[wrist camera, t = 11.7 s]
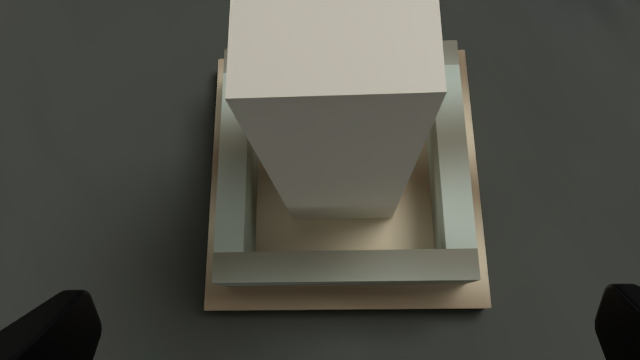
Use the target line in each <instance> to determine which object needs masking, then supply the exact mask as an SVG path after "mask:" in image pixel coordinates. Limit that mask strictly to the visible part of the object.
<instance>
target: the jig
mask: <svg viewBox="0 0 640 360" xmlns="http://www.w3.org/2000/svg"><path fill="white" fill-rule="evenodd" d="M227 53H228V49H225V52H224V59H219V61H218V78H217V95H216V112H215V129H214V146H213V163H212V180H211V197H210V214H209V231H208V248H207V265H206V282H205V299H204V311H245V310H364V309H482V308H491V300H490V290H489V280H488V271H487V261H486V251H485V242H484V232H483V223H482V213H481V203H480V194H479V184H478V175H477V165H476V155H475V146H474V136H473V127H472V117H471V107H470V98H469V88H468V79H467V69H466V59H465V50H458V47H457V40H450V41H443V53H444V65H445V76H446V88H447V93H446V95H445V97H444V100H443V102H442V104H441V107H440V109H439V111H438V114H437V116H436V118H435V121H434V123H433V125H432V127H431V130H430V132H429V134H428V137H427V139H426V141H425V144H424V146H423V148H422V151H421V153H420V155H419V157H418V160H417V162H416V164H415V167H414V169H413V171H412V174H411V176H410V178H409V181H408V183H407V185H406V188H405V190H404V192H403V194H402V197H401V199H400V201H399V204H398V206H397V208H396V211H395V213H394V215H393V218H344V219H293V218H292V216H291V214H290V212H289V211H288V209H287V207H286V205H285V204H284V202H283V200H282V198H281V196H280V195H279V193H278V191H277V189H276V188H275V186H274V184H273V182H272V181H271V179H270V177H269V175H268V174H267V172H266V170H265V168H264V167H263V165H262V163H261V161H260V160H259V158H258V156H257V154H256V152H255V151H254V149H253V147H252V145H251V144H250V142H249V140H248V138H247V137H246V135H245V133H244V131H243V130H242V128H241V126H240V124H239V123H238V121H237V119H236V117H235V116H234V114H233V112H232V110H231V108H230V107H229V105H228V103H227V101H226V100H225V89H226V71H227Z"/></svg>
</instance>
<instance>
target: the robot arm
mask: <svg viewBox="0 0 640 360" xmlns="http://www.w3.org/2000/svg"><path fill="white" fill-rule="evenodd" d="M101 330H102V327H101V321H100V318H99V316H98V313H97V310H96V308H95V305H94V302H93V300H92V297H91V295H90V293H89V292H87V291H85V290H65V291H62V292H60V293H58V294H57V295H55V296H54V297H52V298H50V299H49V300H47V301H46V302H44V303H43V304H41V305H40V306H38V307H36V308H35V309H33V310H32V311H30V312H29V313H27V314H26V315H24V316H23V317H21V318H19V319H18V320H16V321H15V322H13V323H12V324H10V325H9V326H7V327H5V328H4V329H2V330H1V331H0V360H93V358H94V355H95V352H96V349H97V346H98V343H99V340H100V336H101ZM595 330H596V334H597V337H598V340H599V342H600V345H601V348H602V350H603V353H604V356H605V358H606V360H640V287H639V286H637V285H635V284H610V285H608V286H607V287H606V288H605V290H604V292H603V296H602V299H601V302H600V305H599V308H598V311H597V314H596V318H595Z"/></svg>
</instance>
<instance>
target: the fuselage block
mask: <svg viewBox="0 0 640 360" xmlns="http://www.w3.org/2000/svg"><path fill="white" fill-rule="evenodd" d="M446 93H447V88H446V76H445V65H444V53H443V41H442V30H441V18H440V7H439V0H231V1H230V18H229V36H228V53H227V71H226V89H225V100H226V101H227V103H228V105H229V107H230V108H231V110H232V112H233V114H234V116H235V117H236V119H237V121H238V123H239V124H240V126H241V128H242V130H243V131H244V133H245V135H246V137H247V138H248V140H249V142H250V144H251V145H252V147H253V149H254V151H255V152H256V154H257V156H258V158H259V160H260V161H261V163H262V165H263V167H264V168H265V170H266V172H267V174H268V175H269V177H270V179H271V181H272V182H273V184H274V186H275V188H276V189H277V191H278V193H279V195H280V196H281V198H282V200H283V202H284V204H285V205H286V207H287V209H288V211H289V212H290V214H291V216H292V218H293V219H344V218H393V215H394V213H395V211H396V208H397V206H398V204H399V201H400V199H401V197H402V194H403V192H404V190H405V188H406V185H407V183H408V181H409V178H410V176H411V174H412V171H413V169H414V167H415V164H416V162H417V160H418V157H419V155H420V153H421V151H422V148H423V146H424V144H425V141H426V139H427V137H428V134H429V132H430V130H431V127H432V125H433V123H434V121H435V118H436V116H437V114H438V111H439V109H440V107H441V104H442V102H443V100H444V97H445V95H446Z"/></svg>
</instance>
